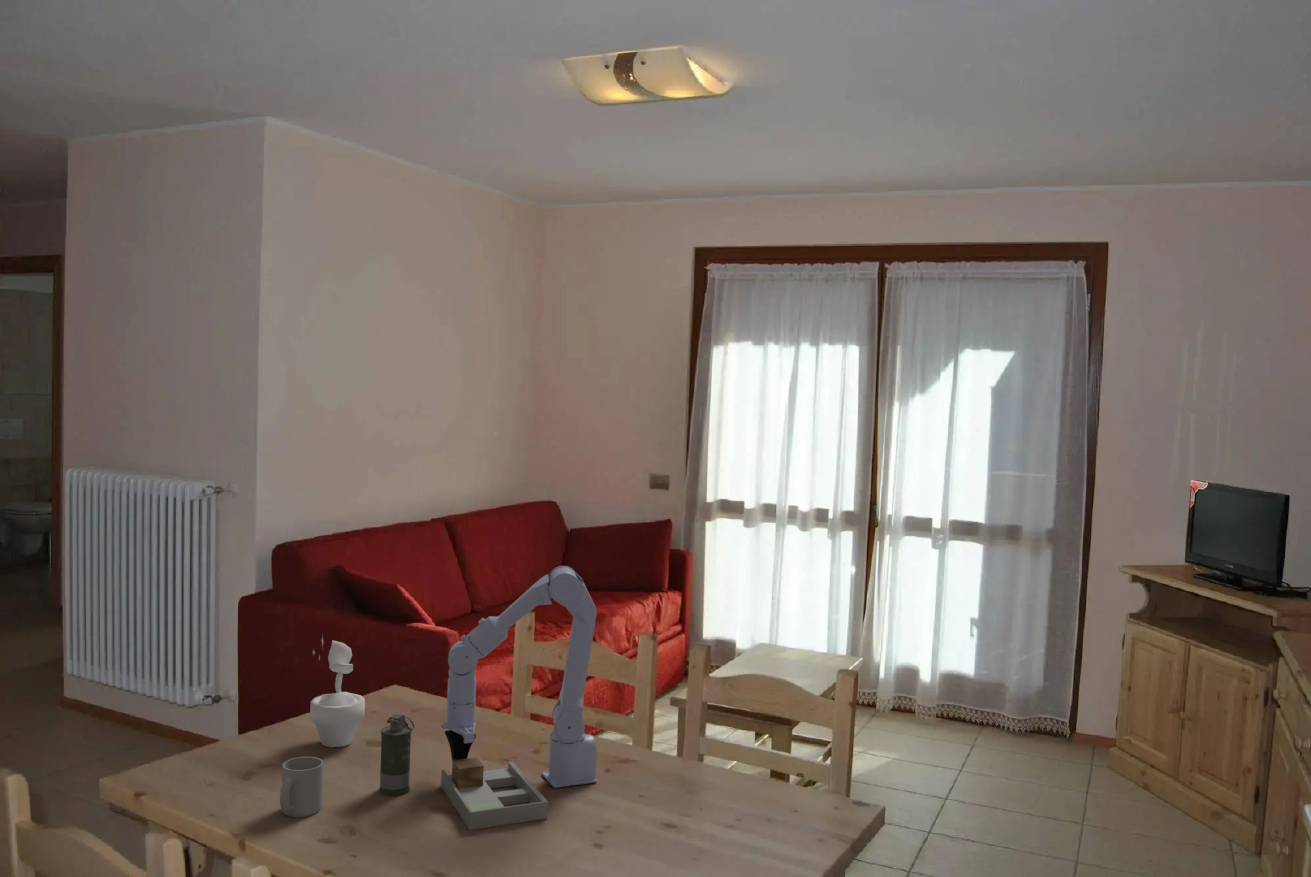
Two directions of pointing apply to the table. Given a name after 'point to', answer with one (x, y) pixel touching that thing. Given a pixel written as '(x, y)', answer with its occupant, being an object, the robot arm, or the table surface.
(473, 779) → the block
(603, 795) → the table surface
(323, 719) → the potted plant
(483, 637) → the robot arm
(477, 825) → the tray
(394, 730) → the grenade
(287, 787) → the cup
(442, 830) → the table surface
